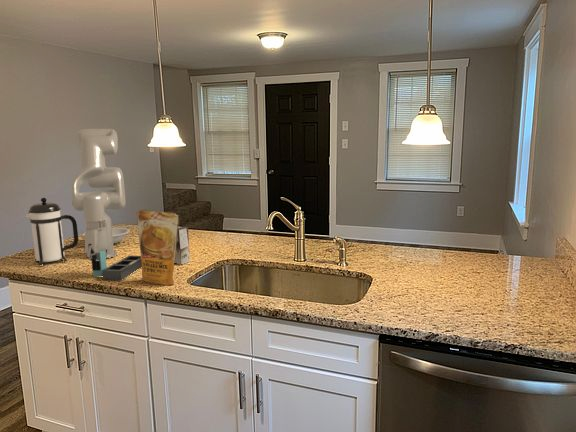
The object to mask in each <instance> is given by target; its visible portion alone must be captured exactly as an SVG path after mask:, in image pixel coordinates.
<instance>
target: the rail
mask: <svg viewBox="0 0 576 432" xmlns="http://www.w3.org/2000/svg"><path fill="white" fill-rule="evenodd" d="M141 267H142V261H141V255H127V256H125V257H123V258H122V259H119V260H117V261H116V262H114V263H112V264H111V265H109V266H107V268H105V269H103V270H102V276H103V277H102V280H103V279H105V280H104V281H123V280H124V278H125V277H126V278H127V276H128V275H129V276H130V274H131V273H132V274H134V273H135V272H134V271H136V270H137V269H139V268H140V269H142V268H141ZM140 269H139V270H140ZM137 271H138V270H137ZM137 271H136V272H137ZM133 272H134V273H133ZM132 274H131V275H132ZM129 276H128V277H129ZM126 278H125V279H126ZM122 279H123V280H122Z"/></svg>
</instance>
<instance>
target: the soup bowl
mask: <svg viewBox="0 0 576 432" xmlns="http://www.w3.org/2000/svg"><path fill="white" fill-rule="evenodd" d="M130 232H131V230H130V229H129V228H127V227H113V226H112V236H113V245H114V243H115V244H118V243H119V242H120V243H121V242H122V241H123V240H124V239H125V238H126V237H127V235H128V233H130ZM81 237H83V238H85V231H84V232H83V233H81Z"/></svg>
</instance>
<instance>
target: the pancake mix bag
mask: <svg viewBox="0 0 576 432" xmlns="http://www.w3.org/2000/svg"><path fill="white" fill-rule="evenodd" d="M179 216H180V215H178V214H177V213H176V212H169V211H159V210H146V209H145V210H143V209H142V210H138V211H136V217H137V220H136V221H137V228H138V245H139V252H140V256H141V261H142V268H141V280H143V282H144V281H145V283H148V282H150V283H149V284H153V283H156V284H155V285H159V284H161V285H160V286H166V285H167V286H172V285H173V286H174V285H175V283H174V282H175V281H174V278H173V277H174V272H175V271H174V270H175V264H174V261H175V252H176V243H177V232H178V226H179V224H180V217H179Z"/></svg>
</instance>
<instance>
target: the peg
mask: <svg viewBox="0 0 576 432" xmlns="http://www.w3.org/2000/svg"><path fill="white" fill-rule="evenodd" d="M93 253H94V252H93ZM93 256H95V257H96V255H93ZM98 261H100V270H92V277H93V276H102V270H103V269H105V268H107V267H108V266H107V265H108V264H107V259H106V252H105V250H104V251H101V252H100V253H99V258H98Z"/></svg>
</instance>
